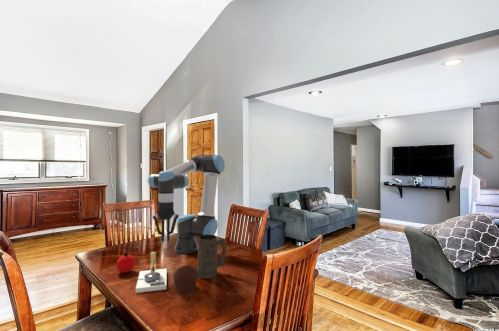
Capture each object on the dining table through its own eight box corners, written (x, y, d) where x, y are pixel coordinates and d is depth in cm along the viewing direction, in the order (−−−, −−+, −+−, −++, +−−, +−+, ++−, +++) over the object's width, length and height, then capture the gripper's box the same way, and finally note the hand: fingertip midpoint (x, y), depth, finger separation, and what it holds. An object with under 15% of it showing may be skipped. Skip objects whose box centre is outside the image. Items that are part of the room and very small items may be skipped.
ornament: (117, 277, 135) (117, 257, 135) (115, 270, 142) (115, 252, 142) (136, 273, 140) (136, 254, 140) (133, 267, 147) (133, 249, 147)
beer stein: (198, 280, 132) (201, 239, 132) (192, 272, 141) (195, 234, 141) (227, 276, 139) (230, 238, 139) (219, 269, 148) (222, 233, 149)
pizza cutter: (159, 280, 126) (159, 259, 125) (143, 282, 123) (143, 261, 123) (160, 270, 138) (160, 251, 138) (145, 271, 136) (146, 252, 136)
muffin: (199, 293, 119) (199, 270, 119) (173, 296, 115) (173, 273, 115) (196, 282, 130) (197, 261, 130) (173, 284, 127) (173, 263, 127)
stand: (166, 272, 141) (166, 265, 141) (166, 289, 122) (166, 280, 122) (139, 275, 137) (139, 267, 137) (135, 293, 118) (135, 284, 118)
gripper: (178, 200, 143) (177, 244, 143) (152, 201, 138) (151, 246, 138) (180, 201, 136) (179, 248, 136) (152, 202, 131) (151, 251, 131)
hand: (165, 247), depth 137 cm, fingers closed
